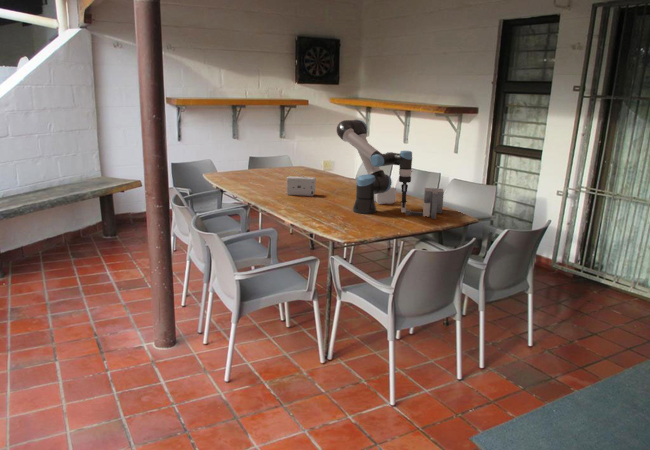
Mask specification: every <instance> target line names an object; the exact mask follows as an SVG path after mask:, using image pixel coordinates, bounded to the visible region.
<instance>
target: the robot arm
mask: <svg viewBox="0 0 650 450" xmlns="http://www.w3.org/2000/svg"><path fill="white" fill-rule="evenodd" d="M336 134H337V136H338V138H340V140H342V141H344V142H346V143H349V144H350V145H351V146H353V148H355V149H356V150H357V153H358V155H359V156H360V159H361V162H362V163H363V165H364V167H365V170H366V172H367V174H361V175H359V176H358V177H357V179H356V182H355V183H356V188H355V189H356V190H355V191H356V192H355V193H356V196H355V201H354V204H353V206H352V207H353V208H352V212H354V213H356V214H357V213H358V214H363V215H364V214H365V215H367V214H375V213H377V206H376V202H374V194H378V193H384V192H387V191H388V190H389V189H390V188H391V187H392V182H393V181H392V178H391V177H390V175H388V174H386V173H385V172H384V170H383V169H381V168H380V167H385V166H393V165H394V166H399V171H398V172H399V173H398V175H399V176H398V182H400V183H402V184H401V185H400V186H401V201H400V203H401V208H400V209H401V211H400V212H401V213H405V214H406V209H407V207H406V206H407V202H408V200H407V192H408V188H409V187H408V184H407V183H412V182H411V181H412V173H413V170H412V166H413V164H412V163H413V151H411V150H401V151H400V153H398V152H397V153H396V152H391V151H390V152H386V153H382V152H380V151H379V150H378V149H377V148H375V147H374V146H373V145H371V144H370V143H369V141H368V139H367V137H368V126H367V124H366V123H365V121H364V120H362V119H346V120H342V121H340V122H339V123H338V124H337V126H336Z"/></svg>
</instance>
